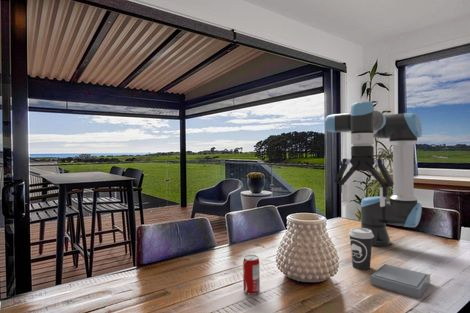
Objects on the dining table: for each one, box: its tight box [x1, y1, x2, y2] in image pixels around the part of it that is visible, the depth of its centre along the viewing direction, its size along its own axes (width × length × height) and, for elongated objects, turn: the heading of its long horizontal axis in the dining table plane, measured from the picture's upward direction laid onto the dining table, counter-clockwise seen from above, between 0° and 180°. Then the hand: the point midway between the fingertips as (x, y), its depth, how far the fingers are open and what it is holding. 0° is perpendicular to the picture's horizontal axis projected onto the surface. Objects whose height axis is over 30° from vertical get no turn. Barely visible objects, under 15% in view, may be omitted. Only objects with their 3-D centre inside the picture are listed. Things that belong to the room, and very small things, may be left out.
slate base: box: [370, 263, 431, 300], centre depth 104 cm, size 15×15×3 cm
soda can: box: [242, 254, 261, 295], centre depth 100 cm, size 6×6×12 cm
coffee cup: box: [348, 227, 374, 271], centre depth 119 cm, size 10×10×15 cm
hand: (362, 204), depth 107 cm, fingers open, 13 cm apart
